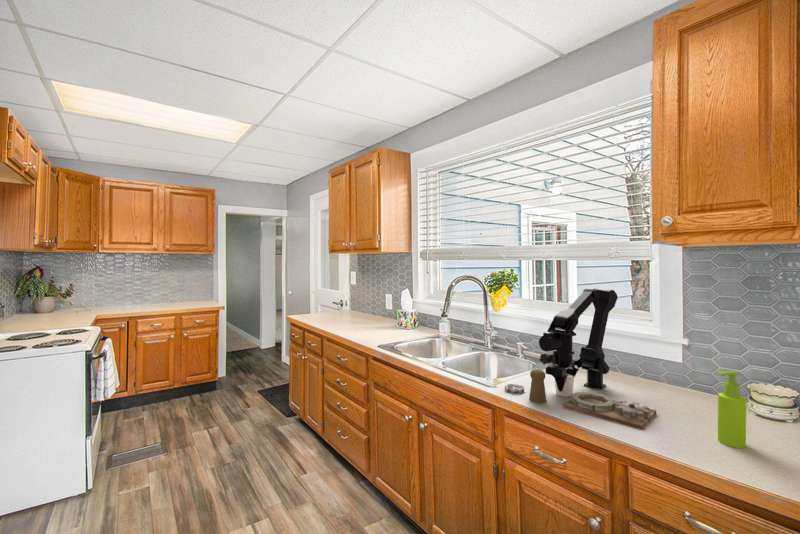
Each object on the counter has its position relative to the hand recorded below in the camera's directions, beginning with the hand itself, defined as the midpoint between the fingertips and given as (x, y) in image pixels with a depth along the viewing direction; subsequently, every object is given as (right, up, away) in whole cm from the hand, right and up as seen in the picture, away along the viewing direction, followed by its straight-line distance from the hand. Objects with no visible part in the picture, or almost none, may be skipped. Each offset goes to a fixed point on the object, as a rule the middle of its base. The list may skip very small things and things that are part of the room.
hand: (564, 389), depth 143 cm
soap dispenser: (+29, -3, -38) cm, 48 cm away
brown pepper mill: (-12, -2, -6) cm, 14 cm away
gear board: (+8, -2, -16) cm, 18 cm away
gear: (-18, -2, +4) cm, 18 cm away
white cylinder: (0, -2, 0) cm, 2 cm away
